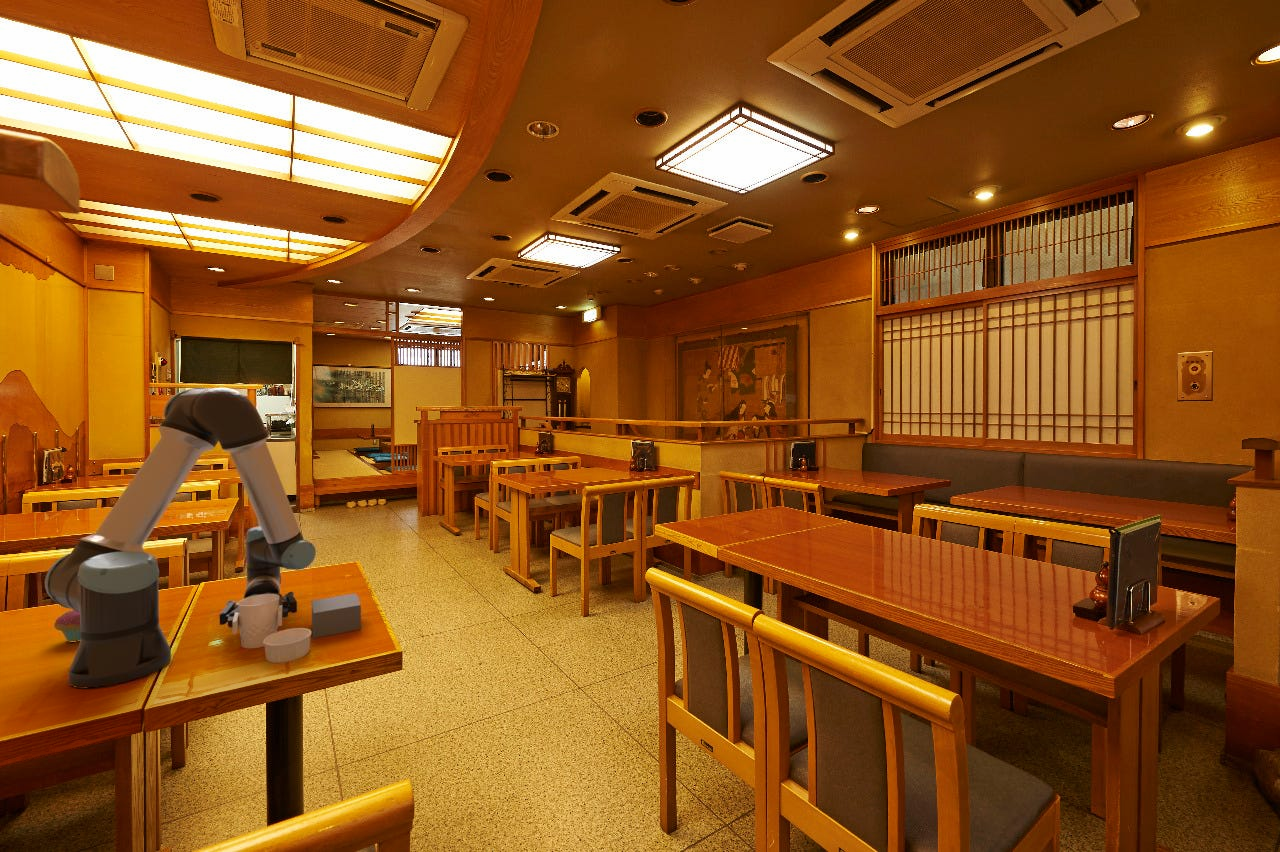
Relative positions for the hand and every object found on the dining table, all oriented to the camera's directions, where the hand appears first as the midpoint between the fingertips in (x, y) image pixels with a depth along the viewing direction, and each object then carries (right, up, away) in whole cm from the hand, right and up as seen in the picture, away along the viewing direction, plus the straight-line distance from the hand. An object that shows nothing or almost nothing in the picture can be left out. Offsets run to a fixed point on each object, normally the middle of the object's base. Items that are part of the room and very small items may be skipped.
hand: (257, 623), depth 120 cm
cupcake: (-46, -6, +6) cm, 46 cm away
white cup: (-3, -6, +4) cm, 8 cm away
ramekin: (+8, -6, -2) cm, 10 cm away
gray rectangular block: (+10, -6, +13) cm, 18 cm away
